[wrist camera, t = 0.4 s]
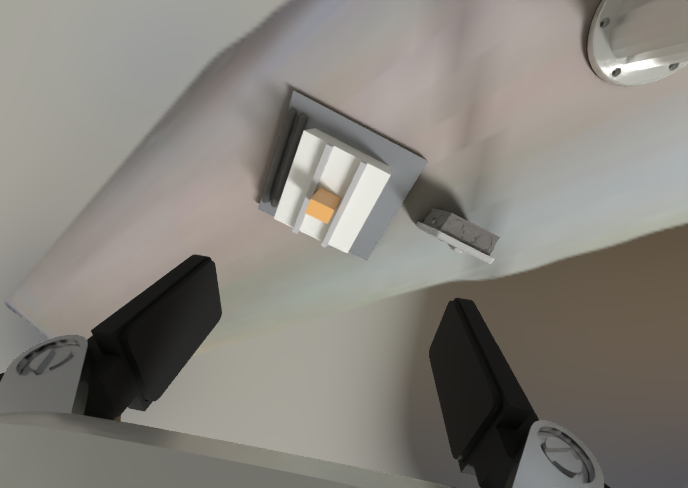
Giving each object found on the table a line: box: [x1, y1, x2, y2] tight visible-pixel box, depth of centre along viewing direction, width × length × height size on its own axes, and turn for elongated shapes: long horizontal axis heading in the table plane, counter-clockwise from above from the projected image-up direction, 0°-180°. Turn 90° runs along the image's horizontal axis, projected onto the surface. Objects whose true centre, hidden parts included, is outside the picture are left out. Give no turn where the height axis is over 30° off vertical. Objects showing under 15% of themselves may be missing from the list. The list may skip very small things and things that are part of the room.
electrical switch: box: [416, 208, 500, 264], centre depth 37 cm, size 9×5×9 cm, turn 65°
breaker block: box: [258, 91, 428, 260], centre depth 36 cm, size 19×21×9 cm
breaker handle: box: [305, 188, 341, 224], centre depth 31 cm, size 2×3×5 cm, turn 65°
